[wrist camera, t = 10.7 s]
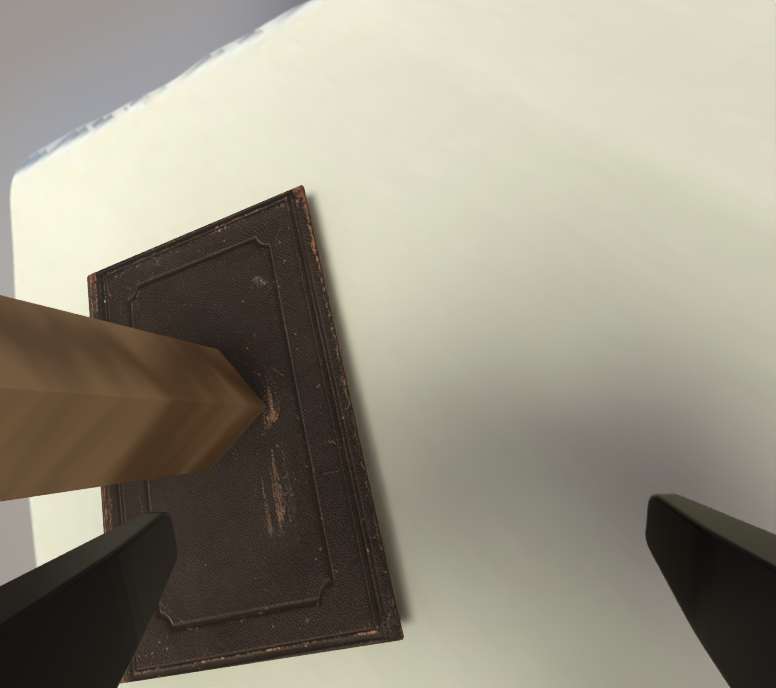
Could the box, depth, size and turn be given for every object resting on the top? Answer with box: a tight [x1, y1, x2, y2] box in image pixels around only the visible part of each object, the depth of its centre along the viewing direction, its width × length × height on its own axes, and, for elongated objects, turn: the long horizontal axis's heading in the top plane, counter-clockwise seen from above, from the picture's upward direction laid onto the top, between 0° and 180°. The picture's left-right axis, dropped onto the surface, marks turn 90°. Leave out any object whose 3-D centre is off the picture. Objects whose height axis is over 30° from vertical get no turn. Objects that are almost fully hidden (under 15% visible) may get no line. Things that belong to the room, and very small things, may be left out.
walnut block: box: [0, 295, 267, 501], centre depth 17 cm, size 4×4×13 cm
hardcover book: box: [87, 185, 404, 683], centre depth 24 cm, size 16×23×2 cm
